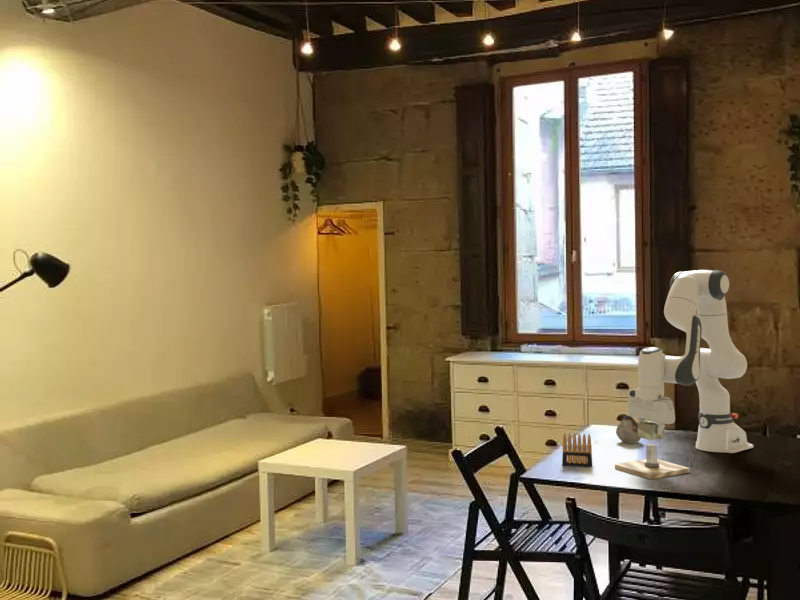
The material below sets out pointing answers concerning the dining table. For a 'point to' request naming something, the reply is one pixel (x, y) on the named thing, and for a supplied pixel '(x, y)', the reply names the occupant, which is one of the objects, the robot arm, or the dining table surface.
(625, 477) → the dining table surface
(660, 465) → the shaft board
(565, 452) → the ammunition clip
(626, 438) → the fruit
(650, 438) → the collar
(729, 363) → the robot arm
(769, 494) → the dining table surface
